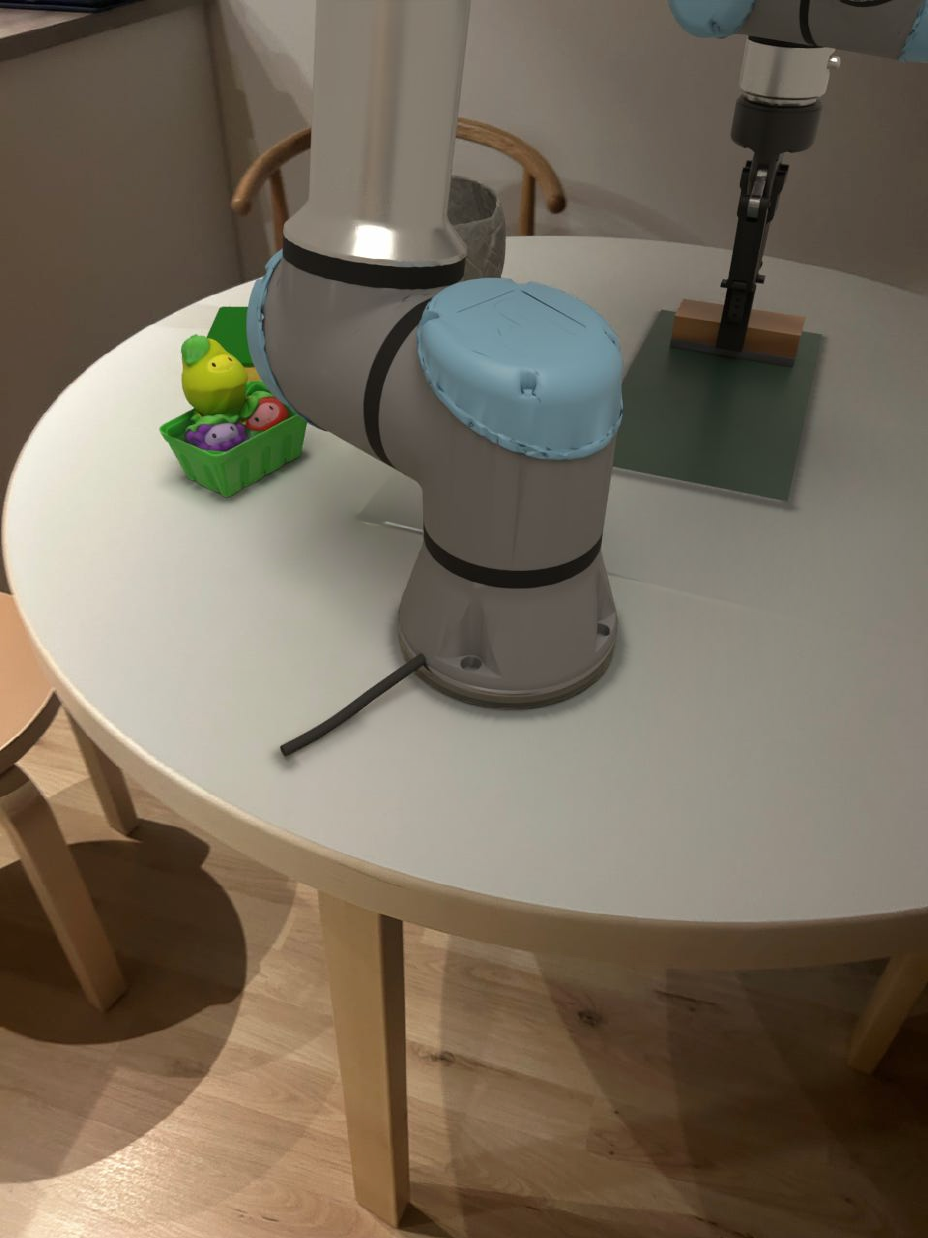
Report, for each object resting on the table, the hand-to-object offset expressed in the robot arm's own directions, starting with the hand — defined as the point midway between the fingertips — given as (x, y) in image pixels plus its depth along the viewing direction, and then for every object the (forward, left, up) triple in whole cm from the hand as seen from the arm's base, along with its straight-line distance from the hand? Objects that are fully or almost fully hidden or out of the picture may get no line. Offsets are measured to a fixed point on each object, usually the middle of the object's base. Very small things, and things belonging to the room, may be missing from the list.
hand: (729, 346), depth 100 cm
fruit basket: (-52, -2, -2) cm, 52 cm away
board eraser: (+2, +2, -1) cm, 4 cm away
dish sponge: (-47, +20, -2) cm, 51 cm away
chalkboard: (-5, -5, -2) cm, 8 cm away
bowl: (-29, +19, -2) cm, 35 cm away
